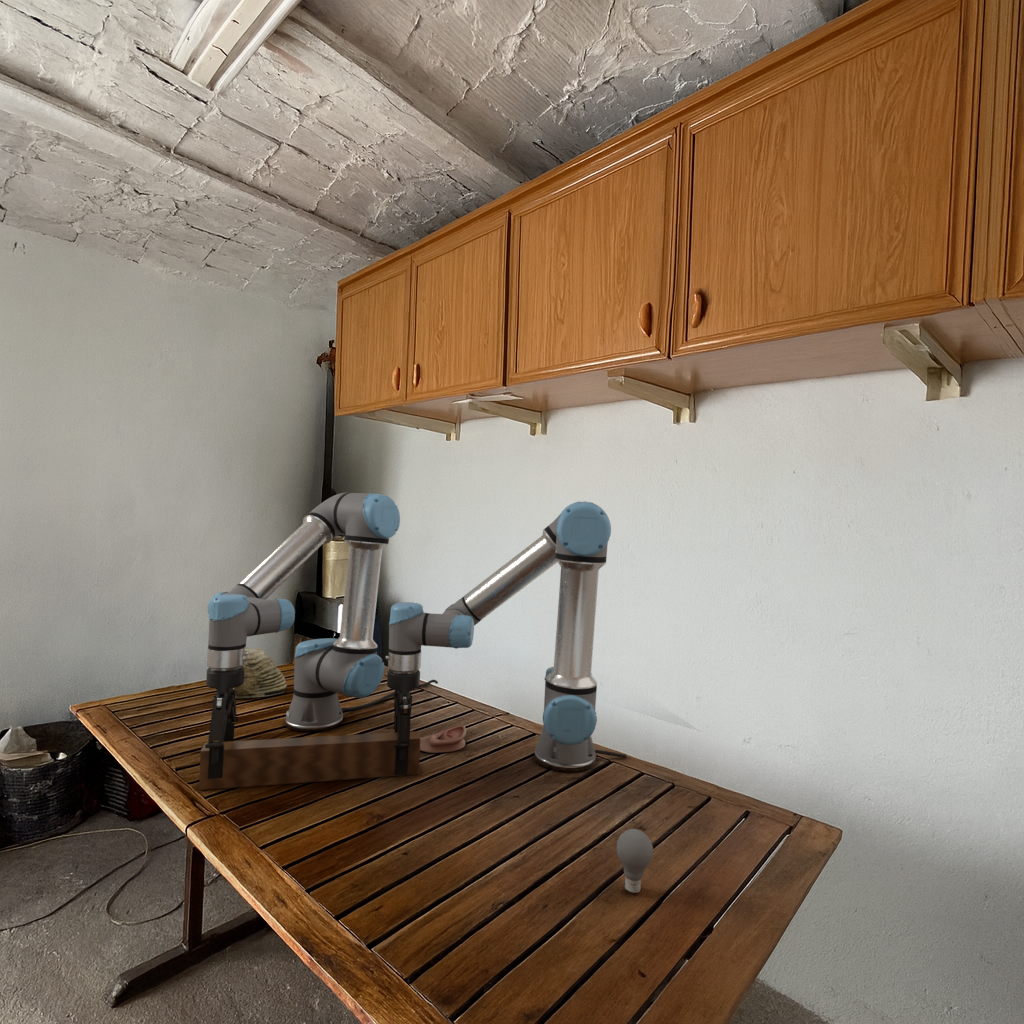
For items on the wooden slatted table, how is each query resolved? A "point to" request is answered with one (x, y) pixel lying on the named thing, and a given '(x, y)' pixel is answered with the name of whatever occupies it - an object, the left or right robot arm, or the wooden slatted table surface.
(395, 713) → the right robot arm
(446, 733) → the anatomical model
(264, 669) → the fossil
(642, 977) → the wooden slatted table surface
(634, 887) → the light bulb
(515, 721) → the wooden slatted table surface
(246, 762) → the plank
